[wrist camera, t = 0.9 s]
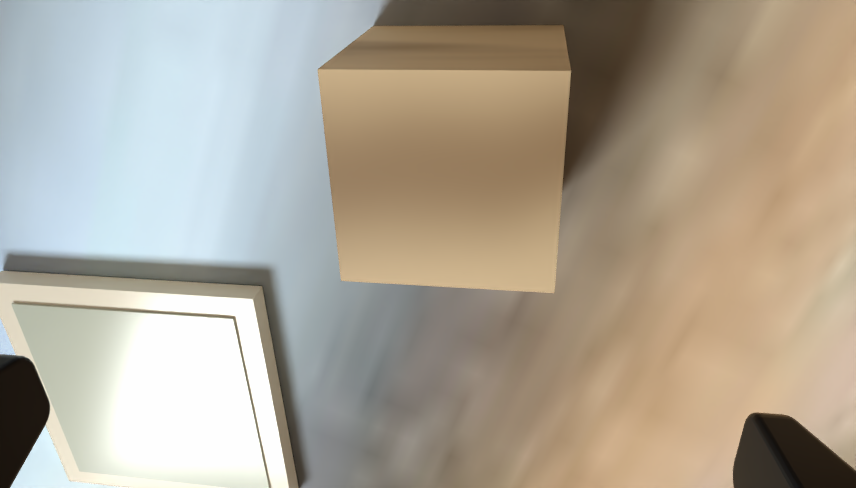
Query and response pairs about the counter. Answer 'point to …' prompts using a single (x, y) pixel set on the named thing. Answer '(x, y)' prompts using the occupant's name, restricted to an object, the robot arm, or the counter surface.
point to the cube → (448, 154)
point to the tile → (154, 379)
